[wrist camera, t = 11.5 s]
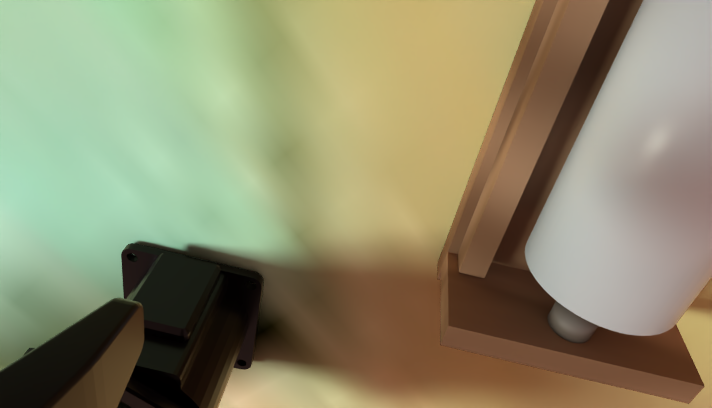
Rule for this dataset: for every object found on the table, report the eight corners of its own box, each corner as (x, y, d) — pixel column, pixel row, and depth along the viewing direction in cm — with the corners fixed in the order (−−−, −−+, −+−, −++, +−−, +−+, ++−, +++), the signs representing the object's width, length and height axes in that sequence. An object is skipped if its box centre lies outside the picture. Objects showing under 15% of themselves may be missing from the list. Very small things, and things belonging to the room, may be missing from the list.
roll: (650, 246, 21) (704, 354, 17) (515, 215, 21) (535, 315, 17) (834, -37, 15) (987, 19, 11) (648, -81, 15) (731, -43, 11)
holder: (641, 311, 24) (681, 412, 20) (437, 263, 24) (436, 354, 20) (994, -191, 14) (1223, -195, 10) (639, -277, 14) (722, -318, 10)
